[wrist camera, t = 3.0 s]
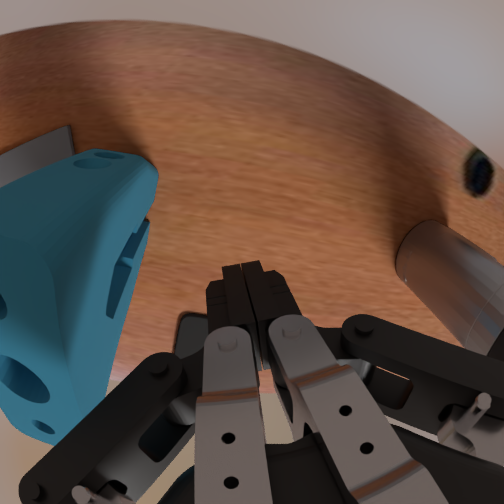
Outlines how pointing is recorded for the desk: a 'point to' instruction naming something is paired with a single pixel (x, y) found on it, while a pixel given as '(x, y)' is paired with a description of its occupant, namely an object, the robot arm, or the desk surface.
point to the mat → (36, 154)
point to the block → (68, 284)
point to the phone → (191, 334)
